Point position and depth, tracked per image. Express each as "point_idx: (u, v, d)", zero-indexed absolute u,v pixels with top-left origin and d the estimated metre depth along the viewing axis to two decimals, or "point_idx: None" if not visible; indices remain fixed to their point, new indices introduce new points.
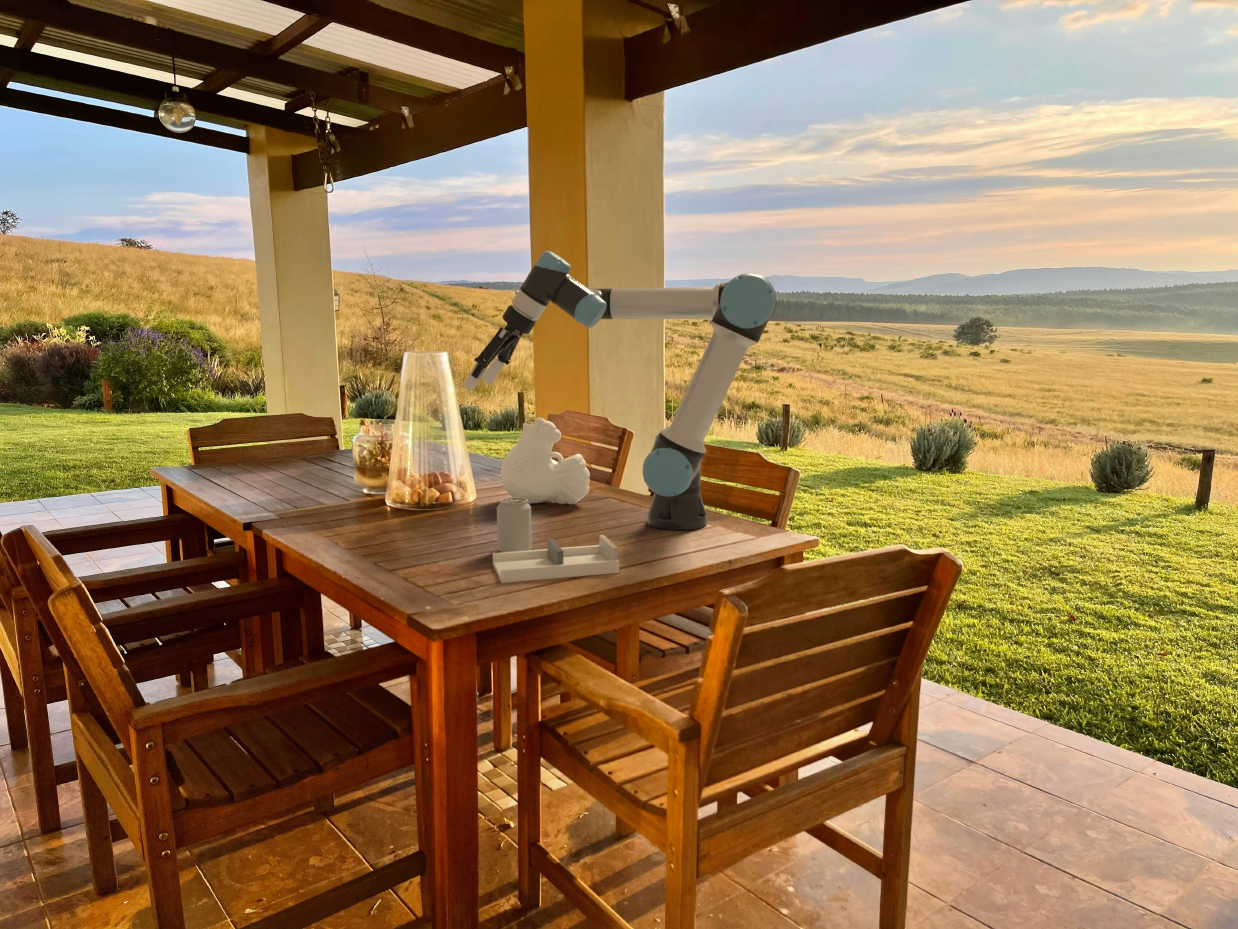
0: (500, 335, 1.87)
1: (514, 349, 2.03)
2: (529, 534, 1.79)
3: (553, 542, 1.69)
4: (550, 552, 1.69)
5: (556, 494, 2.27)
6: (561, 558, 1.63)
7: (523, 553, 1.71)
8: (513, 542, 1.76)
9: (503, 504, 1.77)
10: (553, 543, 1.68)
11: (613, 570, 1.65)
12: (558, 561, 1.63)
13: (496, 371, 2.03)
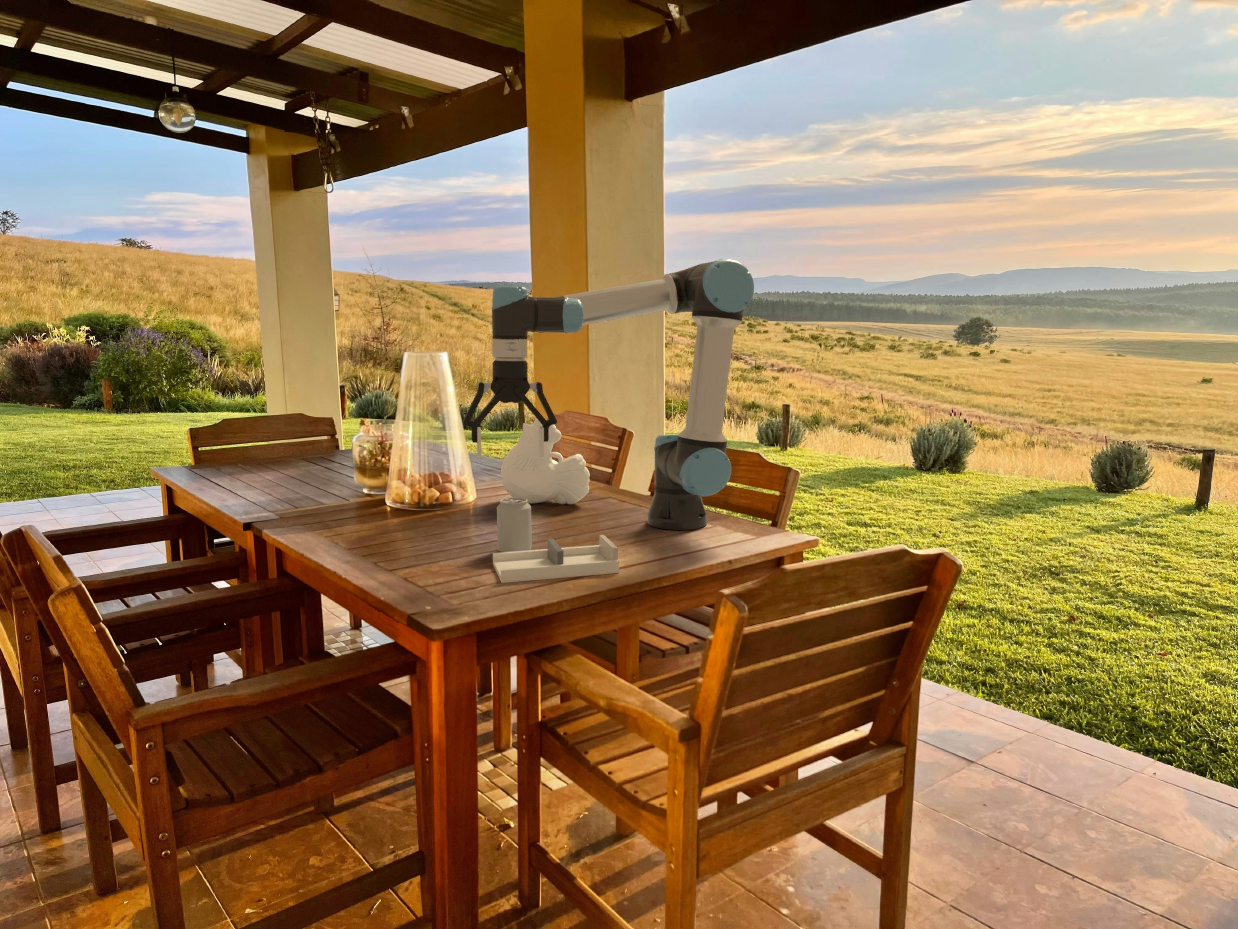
0: None
1: None
2: (529, 534, 1.79)
3: (553, 542, 1.69)
4: (550, 552, 1.69)
5: (556, 494, 2.27)
6: (561, 558, 1.63)
7: (523, 553, 1.71)
8: (513, 542, 1.76)
9: (503, 504, 1.77)
10: (553, 543, 1.68)
11: (613, 570, 1.65)
12: (558, 561, 1.63)
13: None
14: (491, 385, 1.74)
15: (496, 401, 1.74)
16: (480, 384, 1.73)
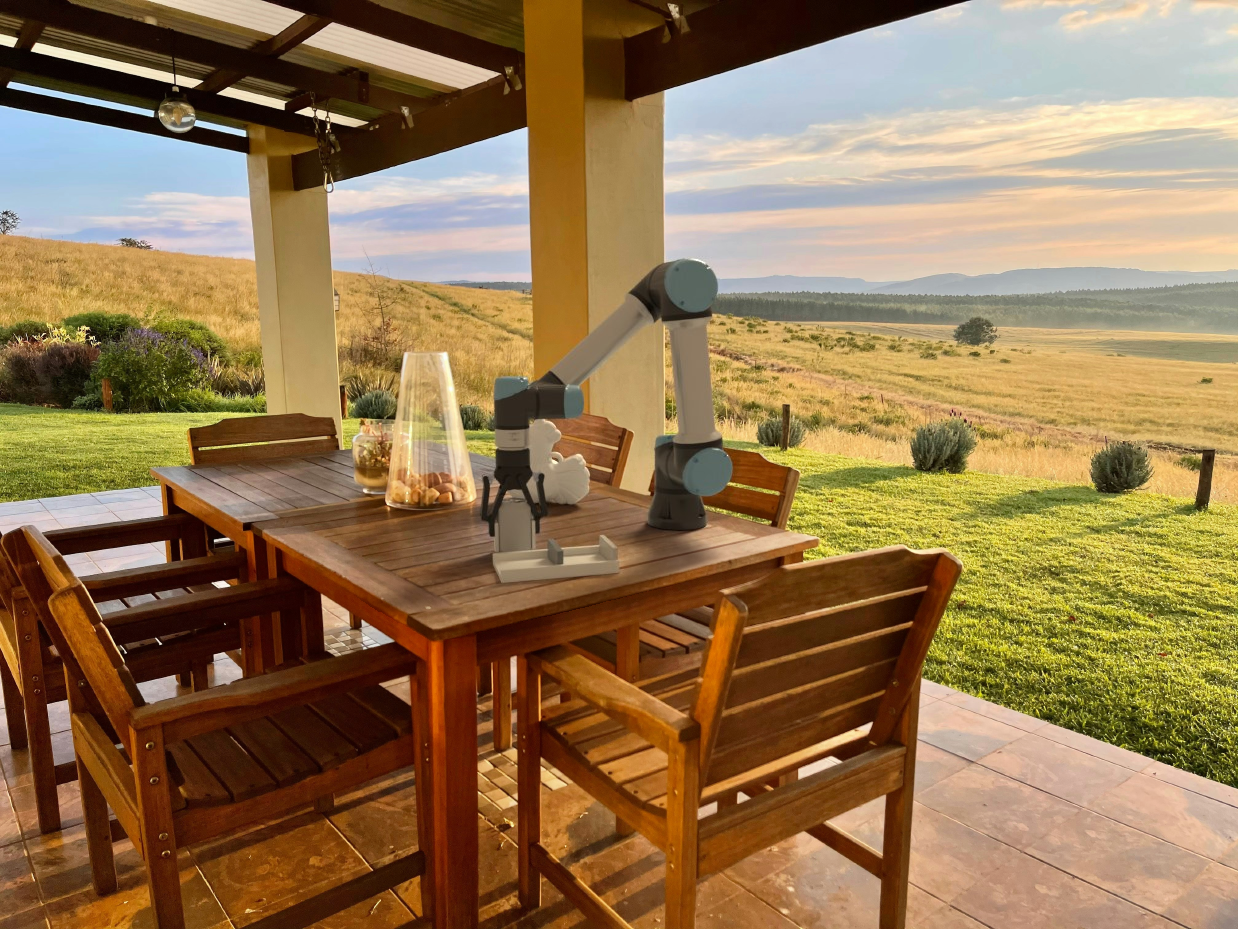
0: None
1: None
2: (529, 534, 1.79)
3: (553, 542, 1.69)
4: (550, 552, 1.69)
5: (556, 494, 2.27)
6: (561, 558, 1.63)
7: (523, 553, 1.71)
8: (513, 542, 1.76)
9: (503, 504, 1.77)
10: (553, 543, 1.68)
11: (613, 570, 1.65)
12: (558, 561, 1.63)
13: None
14: (494, 475, 1.76)
15: (504, 491, 1.76)
16: (484, 478, 1.75)
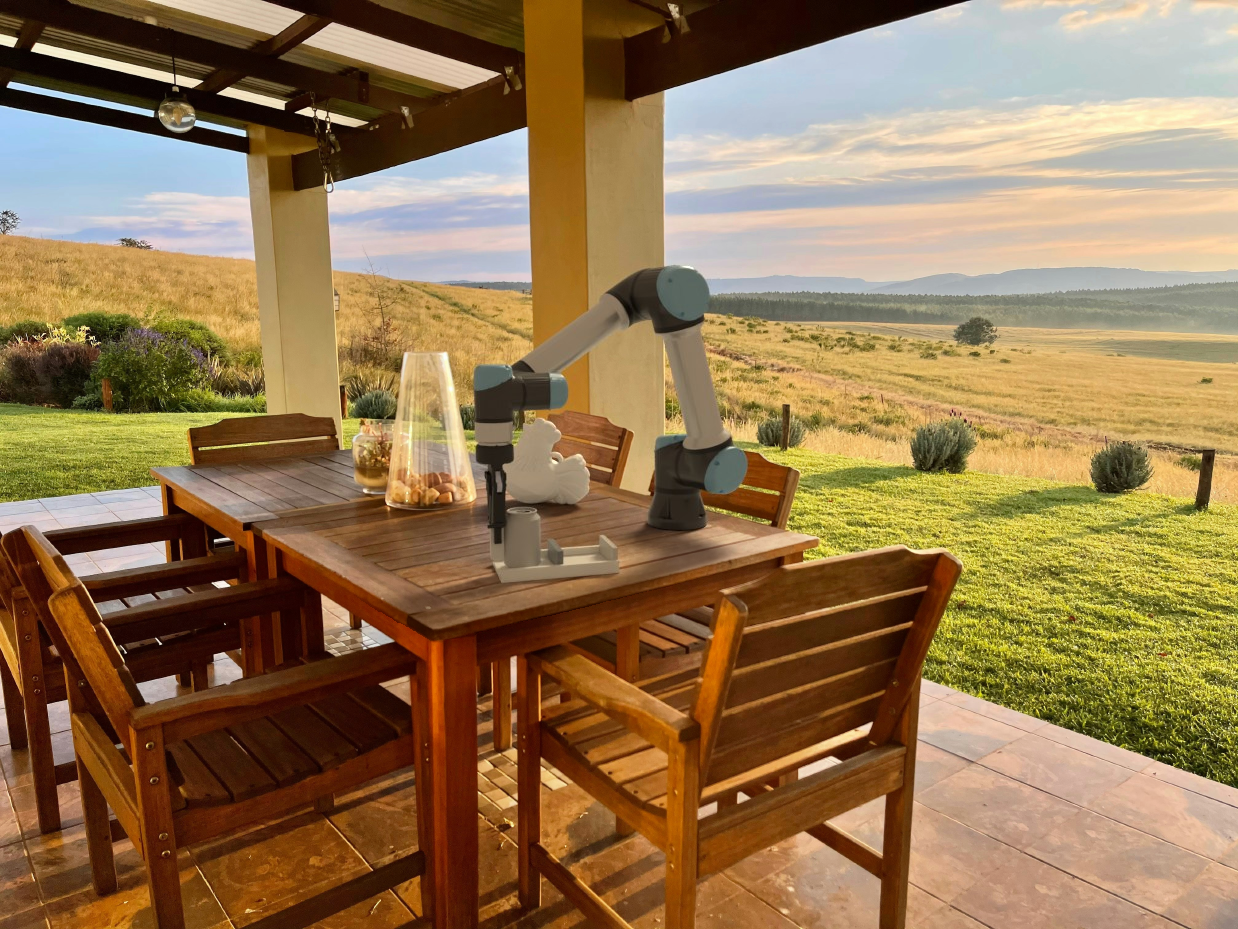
0: None
1: (492, 510, 1.58)
2: None
3: (553, 542, 1.69)
4: (550, 552, 1.69)
5: (556, 494, 2.27)
6: (561, 558, 1.63)
7: None
8: (540, 551, 1.66)
9: (532, 514, 1.62)
10: (553, 543, 1.68)
11: (613, 570, 1.65)
12: (558, 561, 1.63)
13: None
14: (501, 477, 1.58)
15: None
16: (506, 485, 1.56)
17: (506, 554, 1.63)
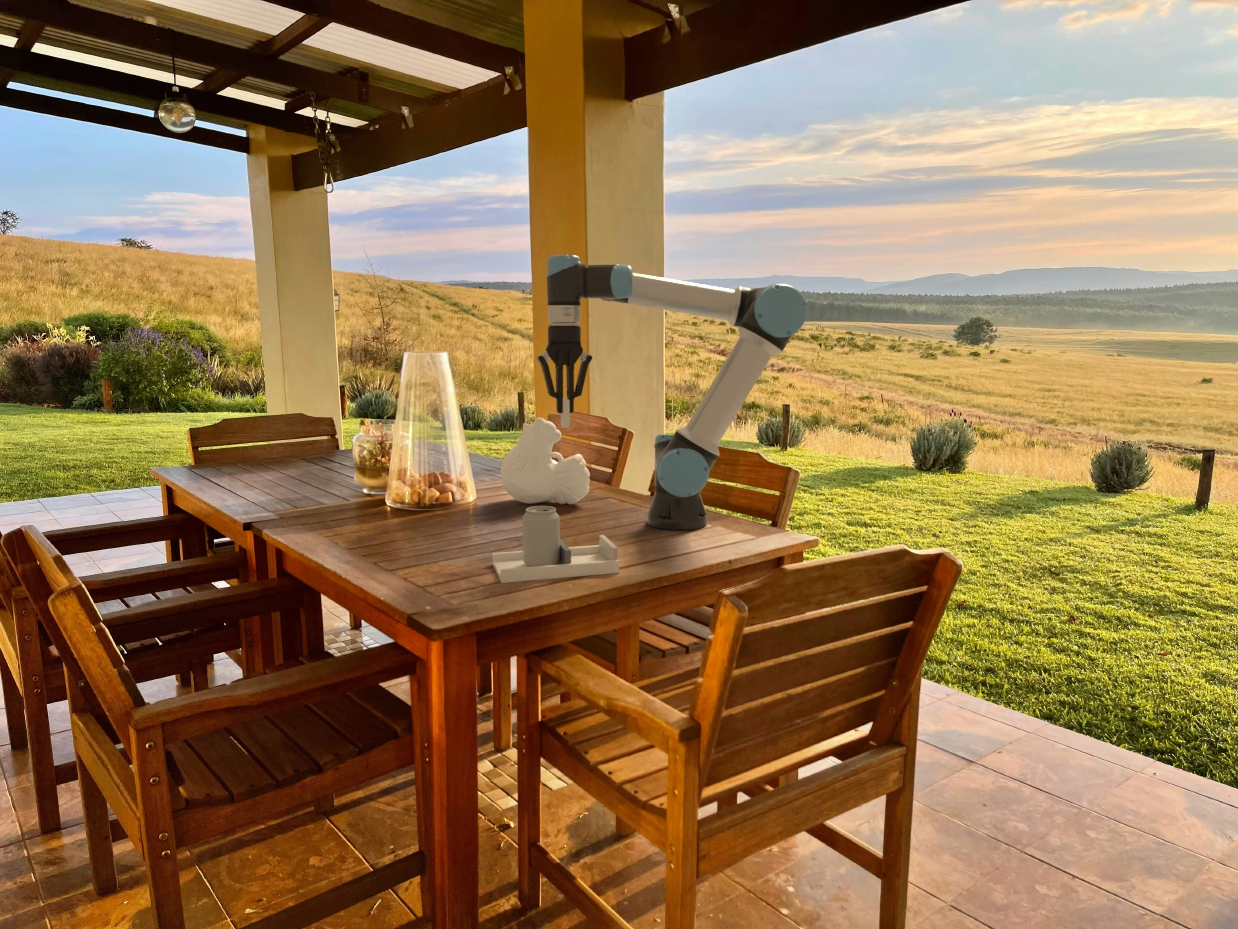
0: None
1: (546, 380, 1.88)
2: None
3: (560, 541, 1.69)
4: None
5: (556, 494, 2.27)
6: (569, 557, 1.63)
7: None
8: (559, 549, 1.67)
9: (551, 513, 1.63)
10: (561, 543, 1.68)
11: (613, 570, 1.65)
12: (566, 560, 1.63)
13: None
14: (548, 352, 1.85)
15: (561, 366, 1.85)
16: (540, 358, 1.84)
17: (526, 552, 1.64)
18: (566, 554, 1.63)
